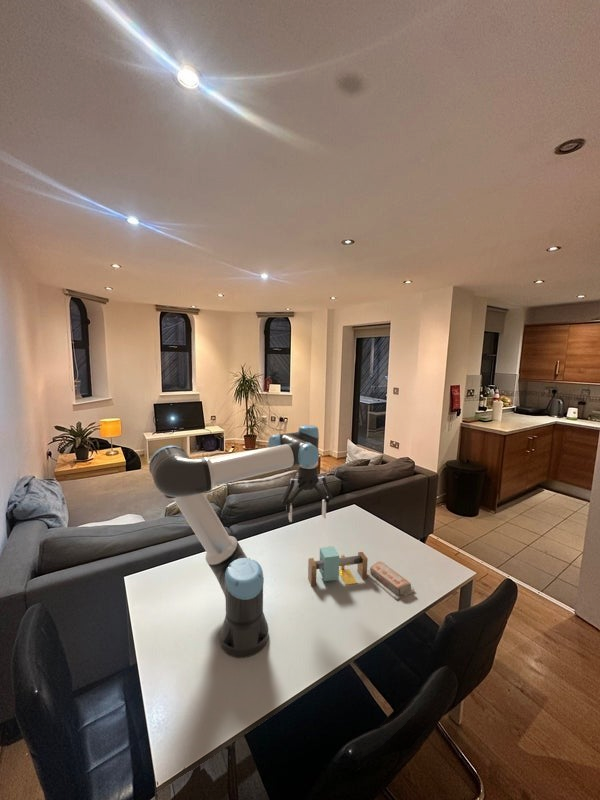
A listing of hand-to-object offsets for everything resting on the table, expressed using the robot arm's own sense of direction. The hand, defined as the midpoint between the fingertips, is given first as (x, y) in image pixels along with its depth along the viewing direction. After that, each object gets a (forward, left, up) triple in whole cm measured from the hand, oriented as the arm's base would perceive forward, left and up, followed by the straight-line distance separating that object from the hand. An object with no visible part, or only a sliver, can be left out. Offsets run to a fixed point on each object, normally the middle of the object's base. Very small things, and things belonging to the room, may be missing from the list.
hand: (307, 518), depth 128 cm
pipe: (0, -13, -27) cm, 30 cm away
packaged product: (-7, -33, -28) cm, 43 cm away
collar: (0, -9, -25) cm, 26 cm away
